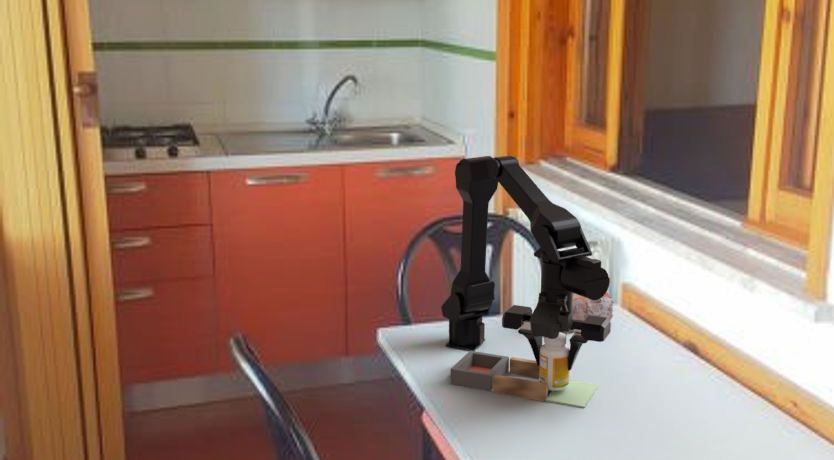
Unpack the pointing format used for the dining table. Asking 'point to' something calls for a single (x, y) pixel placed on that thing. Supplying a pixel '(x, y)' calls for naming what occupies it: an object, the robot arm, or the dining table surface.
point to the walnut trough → (521, 381)
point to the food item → (592, 307)
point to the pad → (573, 394)
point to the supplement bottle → (554, 363)
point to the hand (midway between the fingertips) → (554, 367)
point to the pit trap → (478, 370)
